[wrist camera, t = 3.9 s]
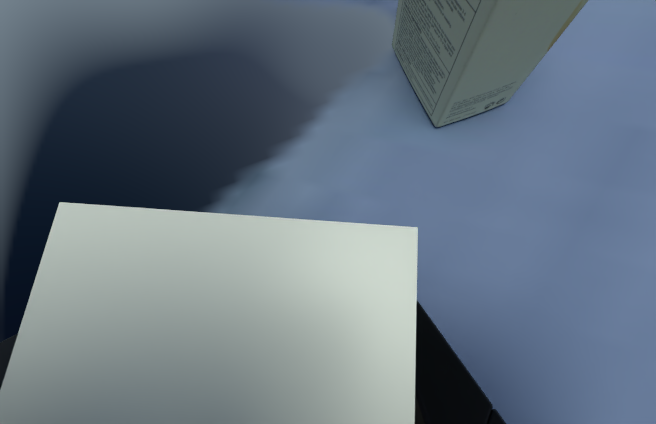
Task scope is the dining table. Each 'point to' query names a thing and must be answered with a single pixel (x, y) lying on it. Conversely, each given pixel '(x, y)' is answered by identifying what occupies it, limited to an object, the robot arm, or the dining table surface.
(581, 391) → the dining table surface
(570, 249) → the dining table surface
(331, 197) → the dining table surface
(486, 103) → the skincare box
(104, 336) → the tall white cuboid
